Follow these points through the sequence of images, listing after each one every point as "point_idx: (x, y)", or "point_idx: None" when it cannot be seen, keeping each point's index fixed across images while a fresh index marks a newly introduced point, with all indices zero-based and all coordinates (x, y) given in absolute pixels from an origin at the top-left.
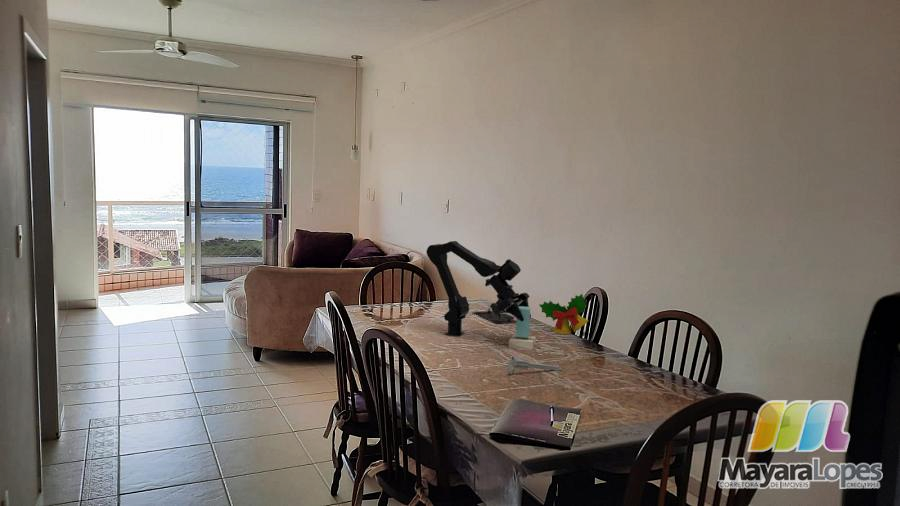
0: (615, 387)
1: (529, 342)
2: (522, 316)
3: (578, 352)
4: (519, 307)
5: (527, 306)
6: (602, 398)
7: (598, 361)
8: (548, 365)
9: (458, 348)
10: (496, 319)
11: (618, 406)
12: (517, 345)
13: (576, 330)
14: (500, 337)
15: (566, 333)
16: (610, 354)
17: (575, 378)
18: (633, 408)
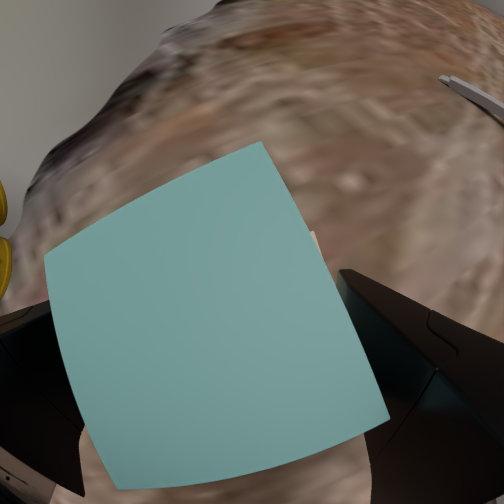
0: (426, 8)
1: (318, 249)
2: (358, 282)
3: (213, 92)
4: (206, 436)
5: (29, 320)
6: (481, 27)
7: (281, 33)
8: (487, 94)
9: None
10: None
11: (480, 17)
12: None
13: (6, 202)
14: None
15: (8, 245)
16: (183, 44)
17: (457, 53)
18: (467, 6)
